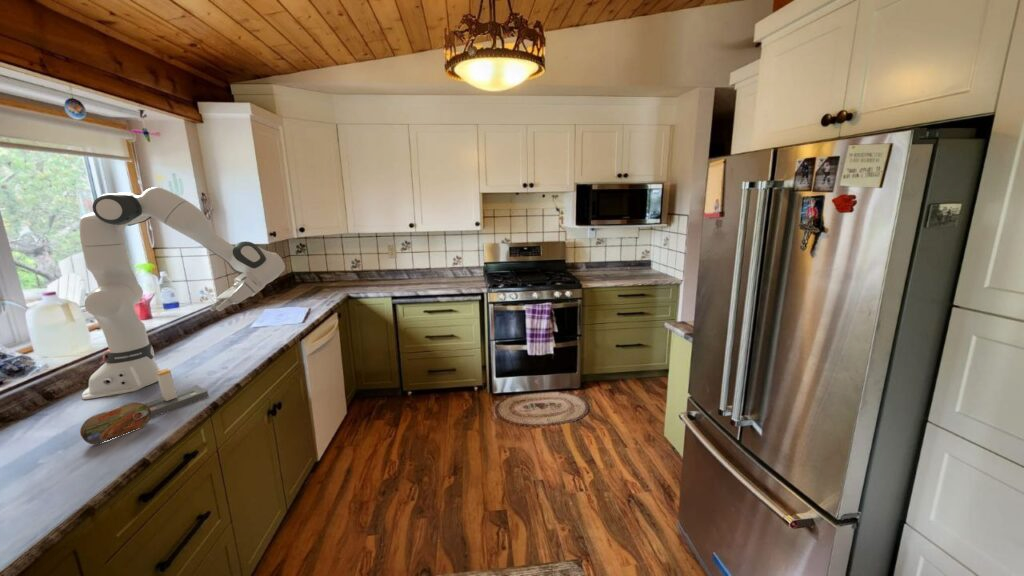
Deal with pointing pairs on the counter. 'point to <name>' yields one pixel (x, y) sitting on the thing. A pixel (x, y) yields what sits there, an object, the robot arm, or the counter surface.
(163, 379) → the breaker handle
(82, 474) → the counter surface
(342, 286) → the counter surface
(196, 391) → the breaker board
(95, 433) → the tin
